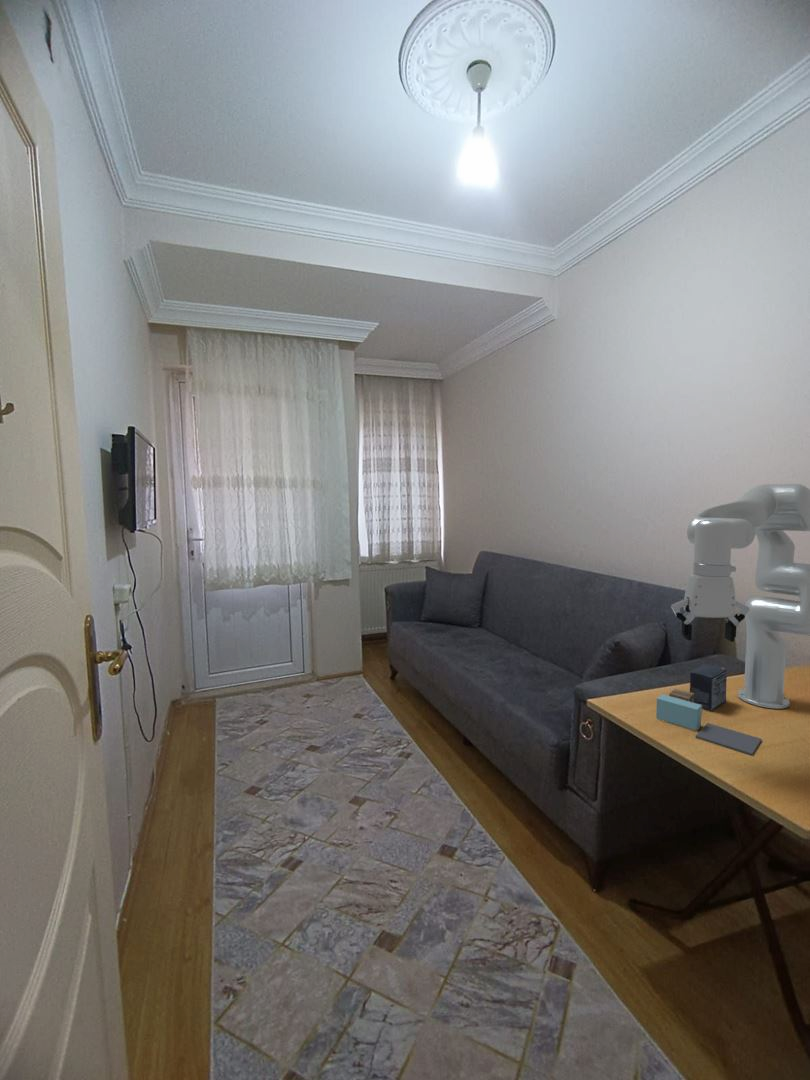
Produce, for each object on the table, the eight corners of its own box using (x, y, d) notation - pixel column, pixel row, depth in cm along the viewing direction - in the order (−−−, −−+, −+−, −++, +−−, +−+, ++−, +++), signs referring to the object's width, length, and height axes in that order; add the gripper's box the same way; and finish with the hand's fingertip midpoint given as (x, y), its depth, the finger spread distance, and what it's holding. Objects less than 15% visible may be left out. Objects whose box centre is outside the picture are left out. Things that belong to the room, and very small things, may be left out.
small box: (703, 695, 149) (704, 662, 148) (726, 702, 144) (728, 668, 143) (687, 704, 143) (689, 670, 142) (711, 712, 137) (713, 676, 136)
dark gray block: (707, 724, 130) (707, 722, 130) (761, 740, 121) (761, 738, 121) (695, 737, 123) (695, 735, 123) (752, 755, 115) (752, 753, 115)
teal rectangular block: (661, 714, 137) (662, 694, 136) (700, 726, 129) (701, 705, 129) (656, 719, 134) (656, 698, 134) (696, 731, 127) (697, 709, 126)
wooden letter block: (674, 704, 143) (675, 688, 142) (693, 709, 139) (694, 693, 139) (668, 710, 139) (668, 693, 139) (687, 716, 136) (688, 699, 135)
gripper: (741, 568, 119) (738, 636, 120) (667, 568, 121) (664, 634, 123) (759, 573, 111) (755, 645, 113) (679, 572, 114) (676, 643, 115)
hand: (708, 639), depth 118 cm, fingers open, 9 cm apart
